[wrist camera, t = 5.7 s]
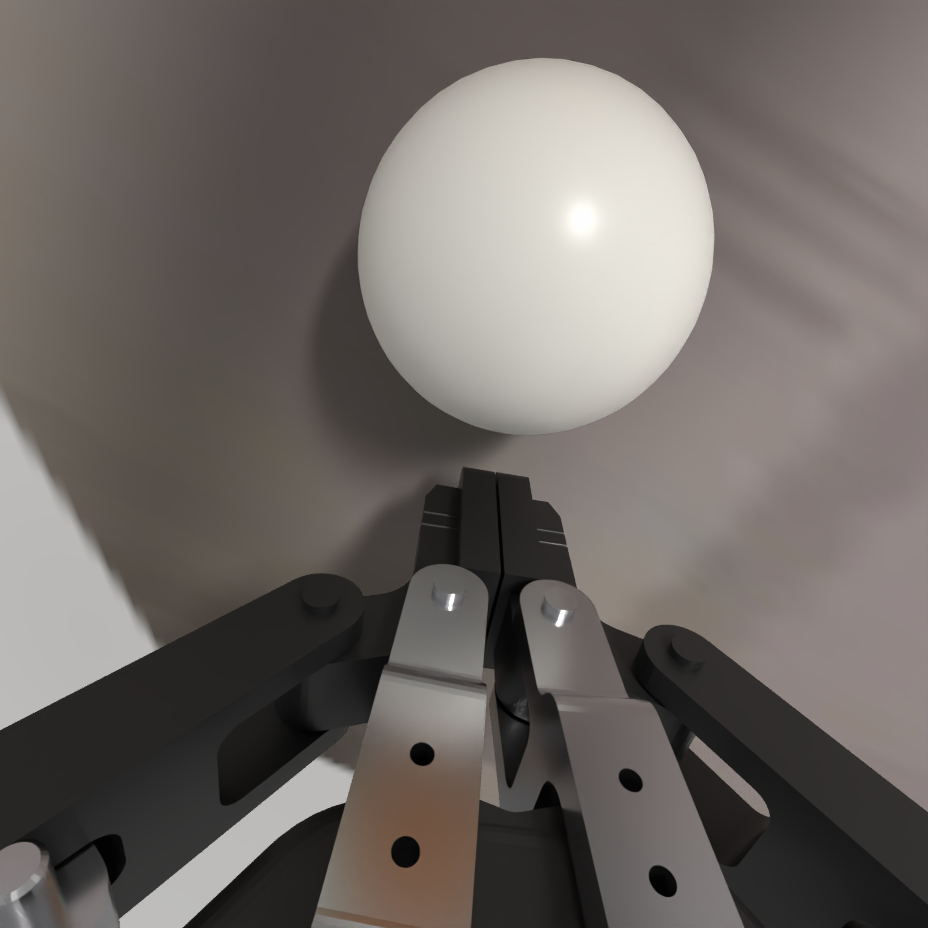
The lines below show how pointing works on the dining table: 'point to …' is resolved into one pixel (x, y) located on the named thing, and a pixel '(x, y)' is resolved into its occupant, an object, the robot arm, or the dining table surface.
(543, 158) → the cue ball
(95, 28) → the dining table surface
